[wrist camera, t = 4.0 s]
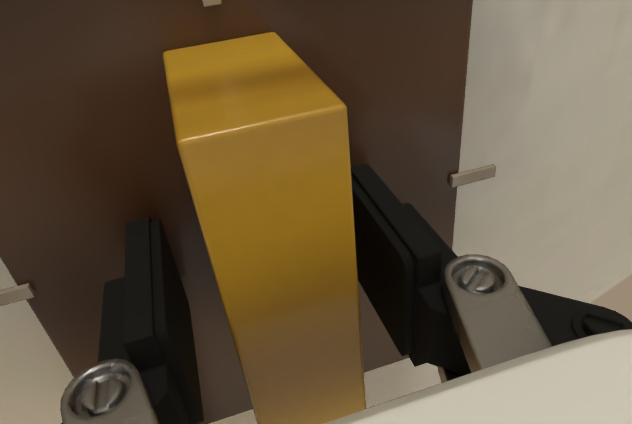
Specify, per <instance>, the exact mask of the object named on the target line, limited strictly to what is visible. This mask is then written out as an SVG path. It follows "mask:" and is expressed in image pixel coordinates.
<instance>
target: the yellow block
mask: <svg viewBox="0 0 632 424" xmlns="http://www.w3.org/2000/svg"><path fill="white" fill-rule="evenodd" d="M163 62H164V68H165V74H166V81H167V87H168V94H169V100H170V106H171V113H172V119H173V125H174V132H175V138H176V145H177V148H178V152H179V155H180V158H181V162H182V165H183V169H184V172H185V176H186V179H187V183H188V186H189V189H190V193H191V196H192V200H193V203H194V207H195V210H196V214H197V217H198V220H199V224H200V227H201V231H202V234H203V238H204V241H205V244H206V248H207V251H208V255H209V258H210V262H211V265H212V269H213V272H214V275H215V279H216V282H217V286H218V289H219V293H220V296H221V300H222V303H223V306H224V310H225V313H226V317H227V320H228V324H229V327H230V330H231V334H232V337H233V341H234V344H235V348H236V351H237V355H238V358H239V361H240V365H241V368H242V372H243V375H244V379H245V382H246V386H247V389H248V392H249V396H250V399H251V403H252V406H253V410H254V413H255V416H256V420H257V423H258V424H324V423H327V422H330V421H333V420H336V419H338V418H341V417H344V416H347V415H350V414H353V413H356V412H359V411H362V410H365V409H366V401H365V385H364V370H363V354H362V338H361V322H360V306H359V291H358V275H357V259H356V243H355V227H354V212H353V196H352V180H351V164H350V148H349V133H348V117H347V107H346V105H345V104H344V103H343V102H342V101H341V99H340V98H339V97H338V96H337V95H336V94H335V93H334V92H333V91H332V90H331V89H330V88H329V87H328V86H327V85H326V84H325V83H324V82H323V81H322V80H321V79H320V78H319V77H318V76H317V75H316V74H315V73H314V72H313V71H312V70H311V69H310V68H309V67H308V66H307V65H306V64H305V63H304V62H303V61H302V60H301V59H300V57H299V56H298V55H297V54H296V53H295V52H294V51H293V50H292V49H291V48H290V47H289V46H288V45H287V44H286V43H285V42H284V41H283V40H282V39H281V38H280V37H279V36H278V35H277V34H276V33H275V32H269V33H263V34H258V35H252V36H247V37H241V38H235V39H230V40H224V41H219V42H213V43H208V44H202V45H197V46H191V47H186V48H180V49H174V50H169V51H165V52H164V53H163Z"/></svg>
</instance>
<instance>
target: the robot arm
mask: <svg viewBox="0 0 632 424" xmlns="http://www.w3.org/2000/svg"><path fill="white" fill-rule="evenodd" d="M351 180H352V196H353V212H354V227H355V243H356V259H357V275H358V281H359V283H360V284H361V286H362V288H363V290H364V292H365V293H366V295H367V297H368V299H369V300H370V302H371V304H372V306H373V307H374V309H375V311H376V313H377V314H378V316H379V318H380V320H381V321H382V323H383V325H384V327H385V328H386V330H387V332H388V334H389V336H390V337H391V339H392V341H393V343H394V344H395V346H396V348H397V350H398V351H399V353H400V354H401V355H402V356H405V355H408V356H409V358H410V359H411V361H412V363H413V364H414V366H418V365H421V364H424V363H427V362H428V363H430V364H432V365H435V366H438V372H439V376H440V379H441V382H442V383H441V384H438V385H435V386H432V387H429V388H426V389H423V390H420V391H417V392H414V393H411V394H408V395H405V396H402V397H399V398H397V399H394V400H391V401H388V402H385V403H382V404H379V405H376V406H373V407H370V408H367V409H365V410H362V411H359V412H356V413H353V414H350V415H347V416H344V417H341V418H338V419H336V420H333V421H330V422H327V423H324V424H632V322H631V321H630V320H628V319H627V318H626V317H624V316H623V315H621V314H619V313H617V312H616V311H613V310H610V309H607V308H605V307H601V306H597V305H593V304H589V303H585V302H581V301H577V300H573V299H569V298H565V297H561V296H557V295H553V294H549V293H545V292H541V291H537V290H533V289H529V288H525V287H521V286H518V284H517V283H516V281H515V279H514V277H513V276H512V274H511V272H510V271H509V270H508V268H507V267H506V266H505V265H504V264H502V263H501V262H499V261H498V260H496V259H493V258H491V257H488V256H483V255H464V256H459V257H457V256H456V254H455V253H454V252H453V251H452V250H451V249H450V248H449V246H448V245H447V244H446V243H445V242H444V241H443V240H442V238H441V237H440V236H439V235H438V234H437V233H436V232H435V230H434V229H433V228H432V227H431V226H430V225H429V224H428V222H427V221H426V220H425V219H424V218H423V217H422V216H421V214H420V213H419V212H418V211H417V210H416V209H415V208H414V206H412V205H411V204H410V203H403V204H402V203H401V202H400V201H399V200H398V198H397V197H396V196H395V195H394V194H393V192H392V191H391V190H390V189H389V188H388V187H387V185H386V184H385V183H384V182H383V181H382V179H381V178H380V177H379V176H378V175H377V174H376V172H375V171H374V170H373V169H372V168H371V167H370V165H368V164H364V165H360V166H356V167H352V168H351ZM60 410H61V415H62V421H63V422H62V423H61V424H197V423H200V422H203V421H204V414H203V406H202V398H201V390H200V383H199V375H198V367H197V359H196V351H195V343H194V336H193V328H192V320H191V312H190V307H189V302H188V299H187V296H186V293H185V290H184V287H183V284H182V281H181V278H180V275H179V273H178V270H177V267H176V264H175V261H174V258H173V255H172V252H171V249H170V247H169V244H168V241H167V238H166V235H165V232H164V229H163V226H162V224H161V221H160V220H158V221H154V222H152V220H151V218H150V217H146V218H142V219H137V220H133V221H129V222H127V223H126V242H125V274H124V277H122V278H118V279H114V280H110V281H107V282H106V283H105V285H104V291H103V304H102V316H101V328H100V340H99V352H98V363H95V364H93V365H91V366H89V367H88V368H86V369H84V370H83V371H81V372H80V373H79V374H78V375H77V376H76V377H75V378H73V379H72V381H71V382H70V383H69V385H68V386H67V387H66V389H65V391H64V393H63V396H62V398H61V409H60Z"/></svg>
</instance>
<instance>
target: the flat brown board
mask: <svg viewBox="0 0 632 424" xmlns="http://www.w3.org/2000/svg"><path fill="white" fill-rule="evenodd" d="M472 2H473V0H0V258H1V259H2V261H3V262H4V264H5V266H6V267H7V269H8V271H9V272H10V274H11V275H12V277H13V279H14V280H15V282H16V284H17V285H18V286H15V287H11V288H7V289H3V290H0V306H2V305H6V304H10V303H14V302H18V301H21V300H25V299H26V300H27V302H28V303H29V305H30V306H31V308H32V310H33V311H34V313H35V315H36V316H37V318H38V319H39V321H40V323H41V324H42V326H43V328H44V329H45V331H46V333H47V334H48V336H49V337H50V339H51V341H52V342H53V344H54V346H55V347H56V349H57V350H58V352H59V354H60V355H61V357H62V359H63V360H64V362H65V364H66V365H67V367H68V368H69V370H70V372H71V373H72V375H73V377H74V378H75V377H76V376H77V375H78V374H79V373H80V372H81V371H83V370H84V369H86V368H88V367H89V366H91V365H93V364H95V363H98V352H99V340H100V328H101V316H102V304H103V291H104V285H105V283H106V282H107V281H110V280H114V279H118V278H122V277H124V274H125V242H126V223H127V222H129V221H133V220H137V219H142V218H146V217H150V218H151V220H152V222H154V221H158V220H160V221H161V224H162V226H163V229H164V232H165V235H166V238H167V241H168V244H169V247H170V249H171V252H172V255H173V258H174V261H175V264H176V267H177V270H178V273H179V275H180V278H181V281H182V284H183V287H184V290H185V293H186V296H187V299H188V302H189V307H190V312H191V320H192V328H193V336H194V343H195V351H196V359H197V367H198V375H199V383H200V390H201V398H202V406H203V414H204V421H203V422H200V423H197V424H208V423H211V422H215V421H218V420H221V419H224V418H227V417H230V416H233V415H236V414H239V413H242V412H245V411H248V410H251V409H253V406H252V403H251V399H250V396H249V392H248V389H247V386H246V382H245V379H244V375H243V372H242V368H241V365H240V361H239V358H238V355H237V351H236V348H235V344H234V341H233V337H232V334H231V330H230V327H229V324H228V320H227V317H226V313H225V310H224V306H223V303H222V300H221V296H220V293H219V289H218V286H217V282H216V279H215V275H214V272H213V269H212V265H211V262H210V258H209V255H208V251H207V248H206V244H205V241H204V238H203V234H202V231H201V227H200V224H199V220H198V217H197V214H196V210H195V207H194V203H193V200H192V196H191V193H190V189H189V186H188V183H187V179H186V176H185V172H184V169H183V165H182V162H181V158H180V155H179V152H178V148H177V145H176V138H175V132H174V125H173V119H172V113H171V106H170V100H169V94H168V87H167V81H166V74H165V68H164V62H163V53H164V52H165V51H169V50H174V49H180V48H186V47H191V46H197V45H202V44H208V43H213V42H219V41H224V40H230V39H235V38H241V37H247V36H252V35H258V34H263V33H269V32H275V33H276V34H277V35H278V36H279V37H280V38H281V39H282V40H283V41H284V42H285V43H286V44H287V45H288V46H289V47H290V48H291V49H292V50H293V51H294V52H295V53H296V54H297V55H298V56H299V57H300V59H301V60H302V61H303V62H304V63H305V64H306V65H307V66H308V67H309V68H310V69H311V70H312V71H313V72H314V73H315V74H316V75H317V76H318V77H319V78H320V79H321V80H322V81H323V82H324V83H325V84H326V85H327V86H328V87H329V88H330V89H331V90H332V91H333V92H334V93H335V94H336V95H337V96H338V97H339V98H340V99H341V101H342V102H343V103H344V104H345V105H346V107H347V117H348V133H349V148H350V164H351V168H352V167H356V166H360V165H364V164H368V165H370V167H371V168H372V169H373V170H374V171H375V172H376V174H377V175H378V176H379V177H380V178H381V179H382V181H383V182H384V183H385V184H386V185H387V187H388V188H389V189H390V190H391V191H392V192H393V194H394V195H395V196H396V197H397V198H398V200H399V201H400V202H401V203H402V204H403V203H410V204H411V205H412V206H414V208H415V209H416V210H417V211H418V212H419V213H420V214H421V216H422V217H423V218H424V219H425V220H426V221H427V222H428V224H429V225H430V226H431V227H432V228H433V229H434V230H435V232H436V233H437V234H438V235H439V236H440V237H441V238H442V240H443V241H444V242H445V243H446V244H447V245H448V246H449V248H450V249H451V250H452V243H453V230H454V218H455V206H456V194H457V186H461V185H465V184H468V183H472V182H476V181H480V180H484V179H487V178H491V177H494V176H495V170H496V166H495V165H494V164H491V165H488V166H484V167H480V168H476V169H472V170H468V171H464V172H460V173H458V170H459V158H460V146H461V134H462V122H463V110H464V98H465V86H466V74H467V62H468V50H469V38H470V26H471V14H472ZM358 291H359V306H360V322H361V338H362V354H363V370H364V372H367V371H370V370H373V369H376V368H379V367H382V366H385V365H388V364H391V363H394V362H397V361H400V360H403V359H406V358H409V356H408V355H405V356H402V355H401V354H400V353H399V351H398V350H397V348H396V346H395V344H394V343H393V341H392V339H391V337H390V336H389V334H388V332H387V330H386V328H385V327H384V325H383V323H382V321H381V320H380V318H379V316H378V314H377V313H376V311H375V309H374V307H373V306H372V304H371V302H370V300H369V299H368V297H367V295H366V293H365V292H364V290H363V288H362V286H361V284H360V283H359V281H358Z"/></svg>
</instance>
